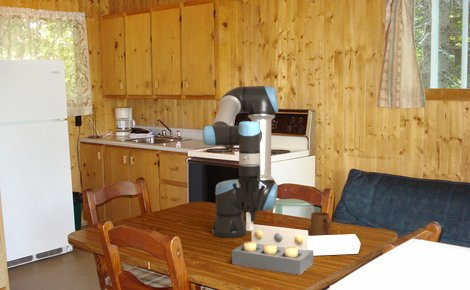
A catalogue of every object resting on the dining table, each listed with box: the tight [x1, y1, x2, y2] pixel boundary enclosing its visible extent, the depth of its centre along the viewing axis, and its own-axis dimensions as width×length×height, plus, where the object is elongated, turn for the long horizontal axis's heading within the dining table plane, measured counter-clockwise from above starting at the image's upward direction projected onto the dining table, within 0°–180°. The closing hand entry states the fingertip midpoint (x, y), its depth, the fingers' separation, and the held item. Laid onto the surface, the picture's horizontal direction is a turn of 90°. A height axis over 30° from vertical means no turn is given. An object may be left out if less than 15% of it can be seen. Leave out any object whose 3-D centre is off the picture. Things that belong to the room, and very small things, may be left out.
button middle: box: [264, 244, 277, 255], centre depth 190 cm, size 4×4×4 cm
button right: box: [285, 247, 298, 258], centre depth 187 cm, size 4×4×4 cm
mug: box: [310, 211, 332, 236], centre depth 228 cm, size 12×8×9 cm, turn 21°
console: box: [231, 223, 314, 276], centre depth 192 cm, size 26×13×12 cm, turn 62°
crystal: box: [308, 233, 362, 257], centre depth 204 cm, size 7×7×24 cm
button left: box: [243, 241, 256, 252], centre depth 194 cm, size 4×4×4 cm
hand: (249, 230), depth 193 cm, fingers closed
